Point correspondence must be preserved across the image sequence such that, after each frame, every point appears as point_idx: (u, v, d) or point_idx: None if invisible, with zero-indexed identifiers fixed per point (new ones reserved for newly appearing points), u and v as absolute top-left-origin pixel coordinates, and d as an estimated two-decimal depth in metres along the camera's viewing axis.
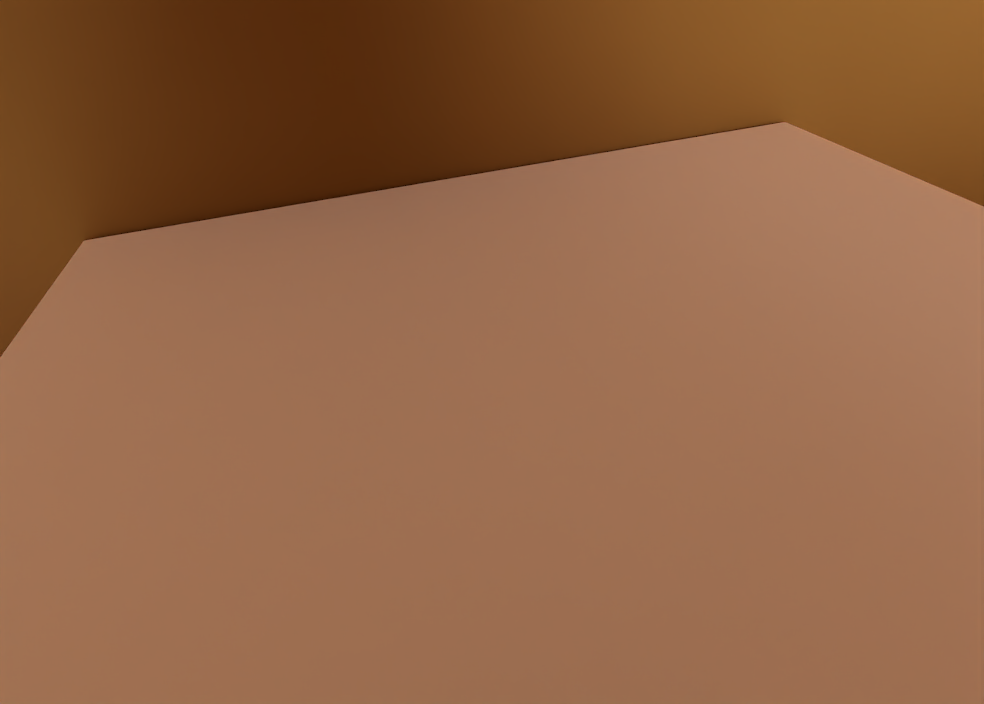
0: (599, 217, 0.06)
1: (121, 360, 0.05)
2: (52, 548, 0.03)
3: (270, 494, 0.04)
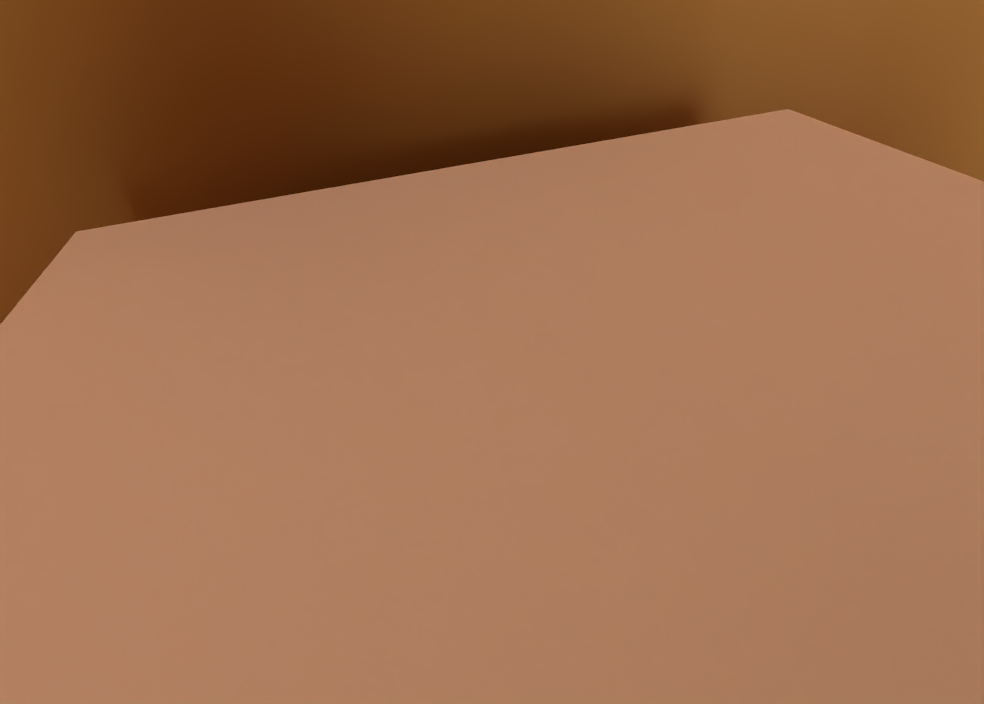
0: (598, 201, 0.06)
1: (107, 344, 0.05)
2: (25, 529, 0.03)
3: (253, 472, 0.04)
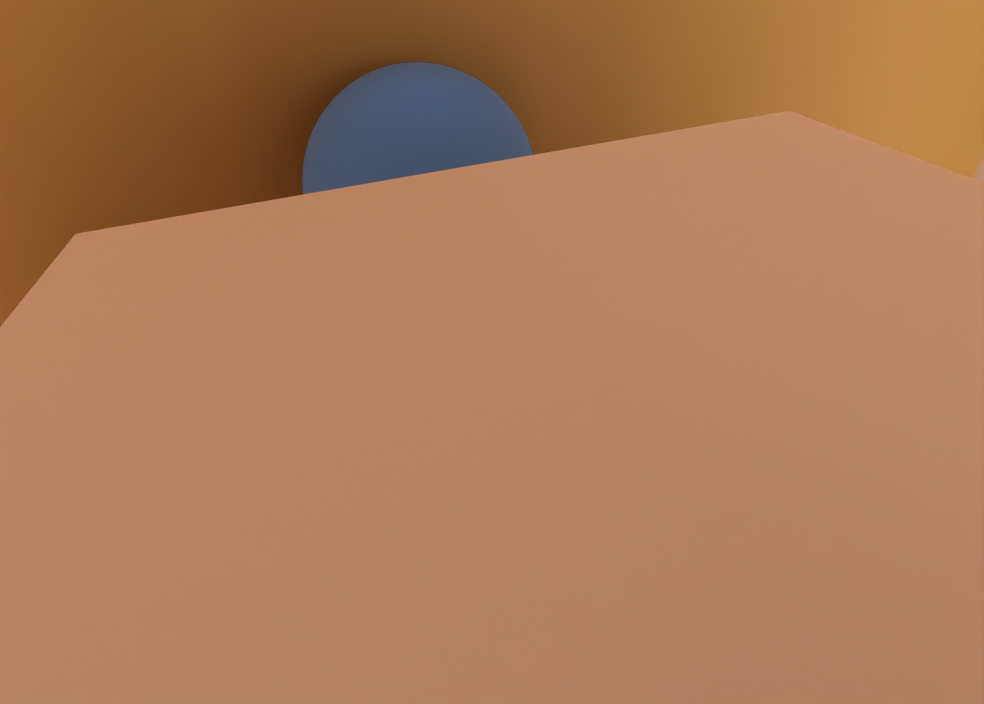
0: (600, 204, 0.06)
1: (107, 348, 0.05)
2: (25, 535, 0.03)
3: (254, 478, 0.04)
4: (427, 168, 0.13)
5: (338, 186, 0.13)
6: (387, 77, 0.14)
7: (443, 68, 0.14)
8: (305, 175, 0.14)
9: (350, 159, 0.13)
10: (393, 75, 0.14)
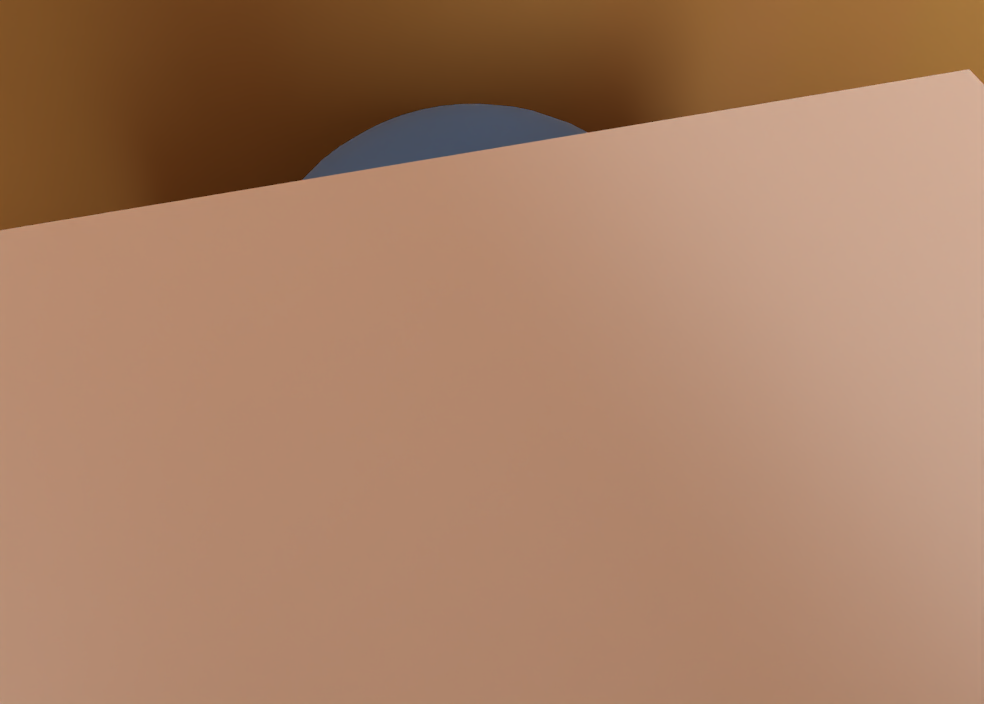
0: (721, 311, 0.04)
1: (33, 632, 0.03)
2: None
3: None
4: None
5: None
6: (412, 120, 0.06)
7: (524, 109, 0.07)
8: None
9: None
10: (424, 118, 0.06)
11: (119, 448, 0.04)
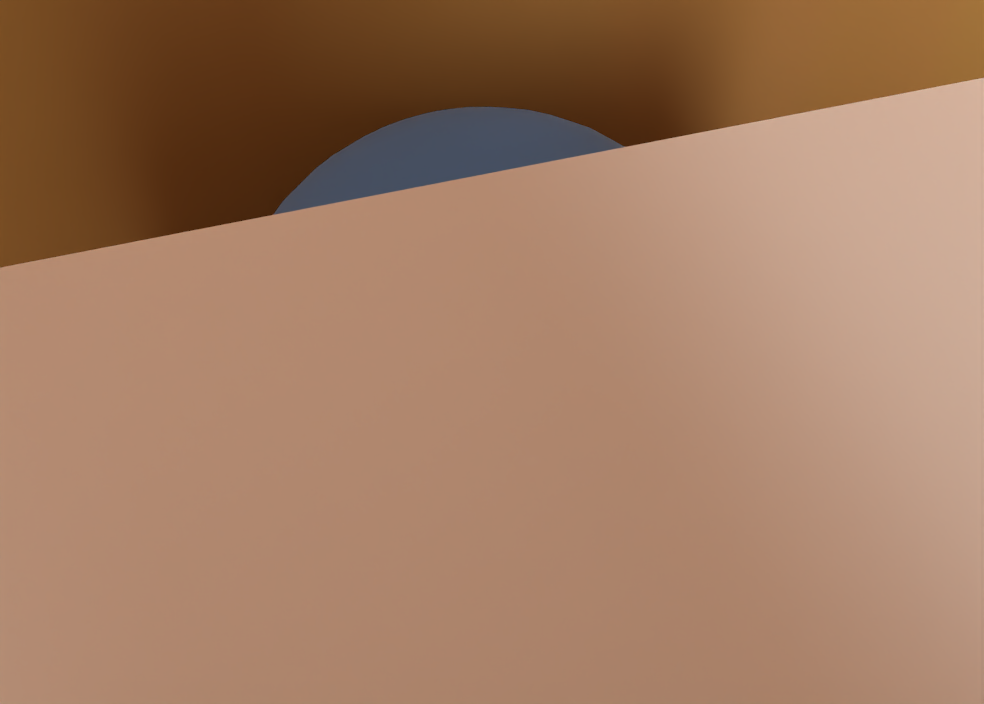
0: (849, 375, 0.04)
1: None
2: None
3: None
4: None
5: None
6: (415, 127, 0.06)
7: (539, 113, 0.06)
8: None
9: None
10: (429, 123, 0.06)
11: (148, 586, 0.03)
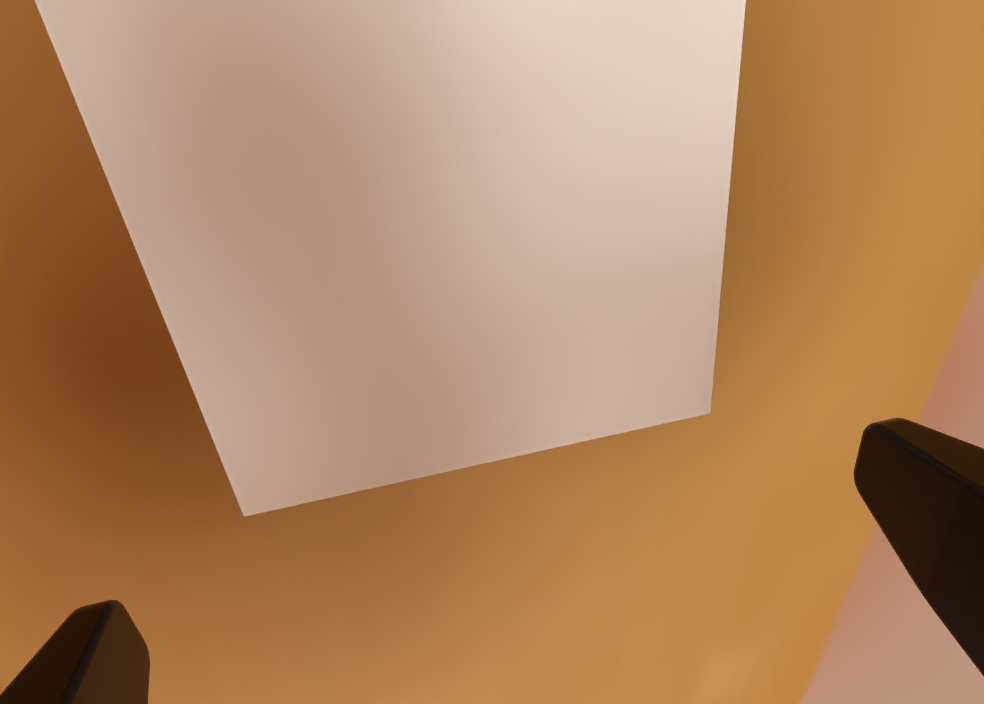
0: None
1: None
2: None
3: None
4: None
5: None
6: None
7: None
8: None
9: None
10: None
11: None
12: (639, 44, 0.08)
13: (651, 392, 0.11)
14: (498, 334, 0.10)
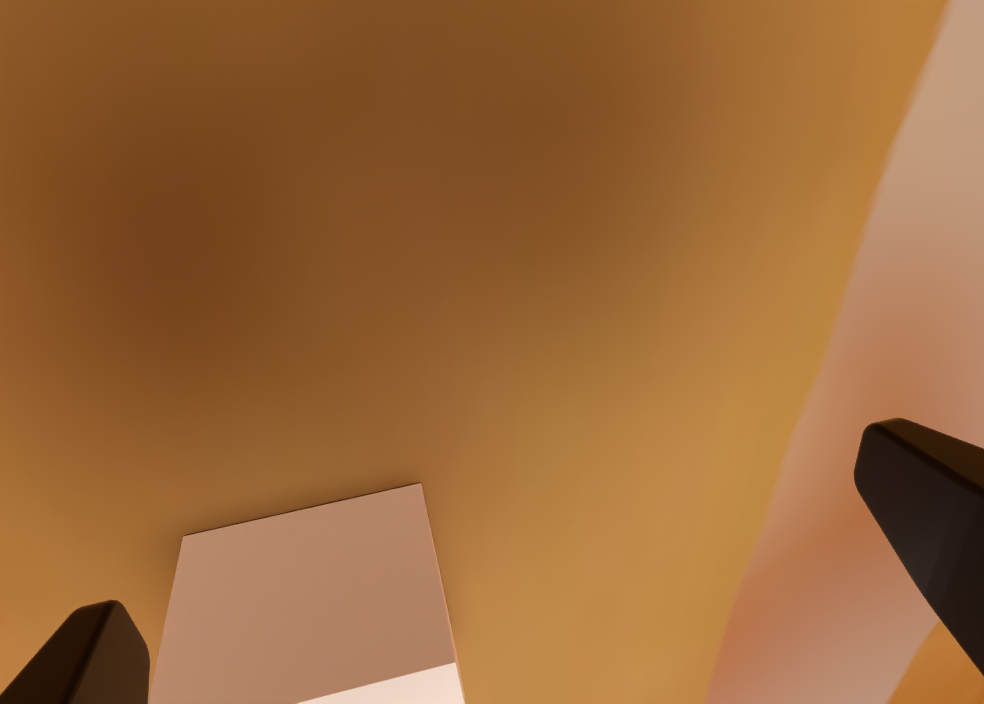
0: (336, 540, 0.22)
1: (202, 596, 0.20)
2: (196, 650, 0.19)
3: (237, 638, 0.19)
4: None
5: None
6: None
7: None
8: None
9: None
10: None
11: (218, 570, 0.21)
12: None
13: None
14: None
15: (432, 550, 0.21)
